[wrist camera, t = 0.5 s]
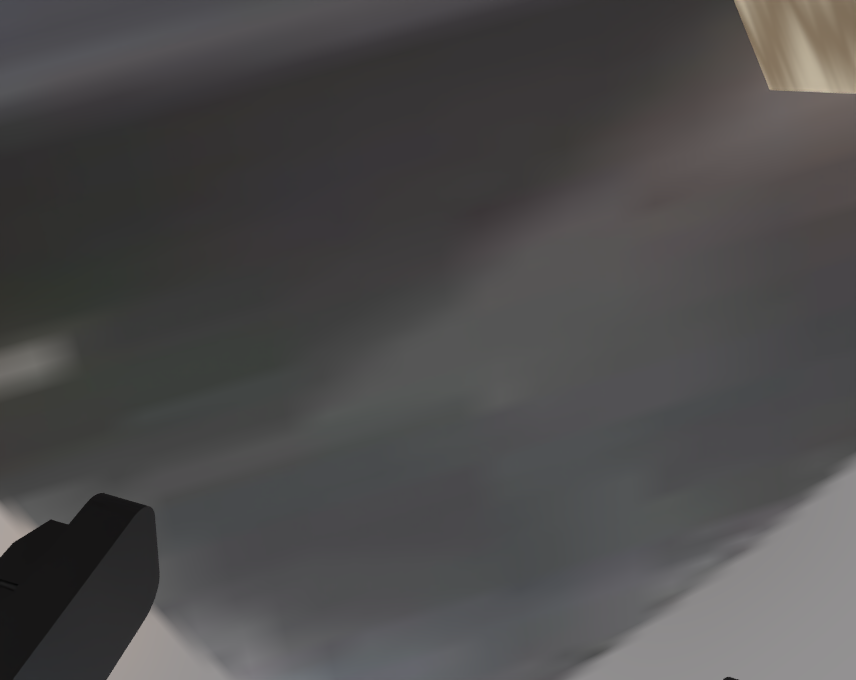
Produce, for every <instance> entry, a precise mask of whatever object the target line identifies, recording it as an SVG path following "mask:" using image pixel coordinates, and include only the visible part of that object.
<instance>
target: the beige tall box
mask: <svg viewBox="0 0 856 680" xmlns="http://www.w3.org/2000/svg"><path fill="white" fill-rule="evenodd" d="M734 2H735V4H736V7H737V9H738V12H739V14H740V17H741V19H742V22H743V24H744V27H745V29H746V32H747V34H748V37H749V39H750V42H751V44H752V47H753V49H754V52H755V54H756V57H757V59H758V62H759V64H760V67H761V69H762V72H763V74H764V77H765V79H766V82H767V84H768V87H769V89H770V90H782V91H805V92H828V93H850V94H856V0H734Z"/></svg>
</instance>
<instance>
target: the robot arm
mask: <svg viewBox="0 0 856 680" xmlns="http://www.w3.org/2000/svg"><path fill="white" fill-rule="evenodd" d="M158 584H159V561H158V548H157V536H156V524H155V514H154V511H153V509H152V508H151V507H149V506H146V505H142V504H139V503H135V502H132V501H129V500H125V499H122V498H118V497H115V496H111V495H108V494H104V493H99V494H97V495H95V496H93V497H92V498H91V499H90V500H89V501H88V502H87V503H86V504H85V505H84V507H83V508H82V509H81V510H80V511H79V513H78V514H77V515H76V516H75V518H74V519H73V520H72V521H71V522H70V524H69V525H68V524H64V523H61V522H57V521H54V520H49V521H48V522H46V523H44V524H43V525H41V526H40V527H38V528H36V529H35V530H33V531H32V532H30V533H28V534H27V535H25V536H24V537H22V538H20V539H19V540H17V541H15V542H14V543H13V544H12V545H11V546H10V547H9V548H8V549H7V551H6V552H5V553H4V554H3V555H2V556H1V557H0V680H106V679H107V678H108V676H109V675H110V673H111V672H112V670H113V669H114V667H115V665H116V664H117V662H118V660H119V659H120V657H121V656H122V654H123V653H124V651H125V650H126V648H127V647H128V645H129V643H130V642H131V640H132V639H133V637H134V636H135V634H136V632H137V631H138V629H139V628H140V626H141V624H142V623H143V621H144V620H145V618H146V616H147V615H148V613H149V611H150V609H151V606H152V604H153V601H154V599H155V596H156V593H157V589H158ZM723 680H738V679H734V678H731V677H726V678H725V679H723Z"/></svg>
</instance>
